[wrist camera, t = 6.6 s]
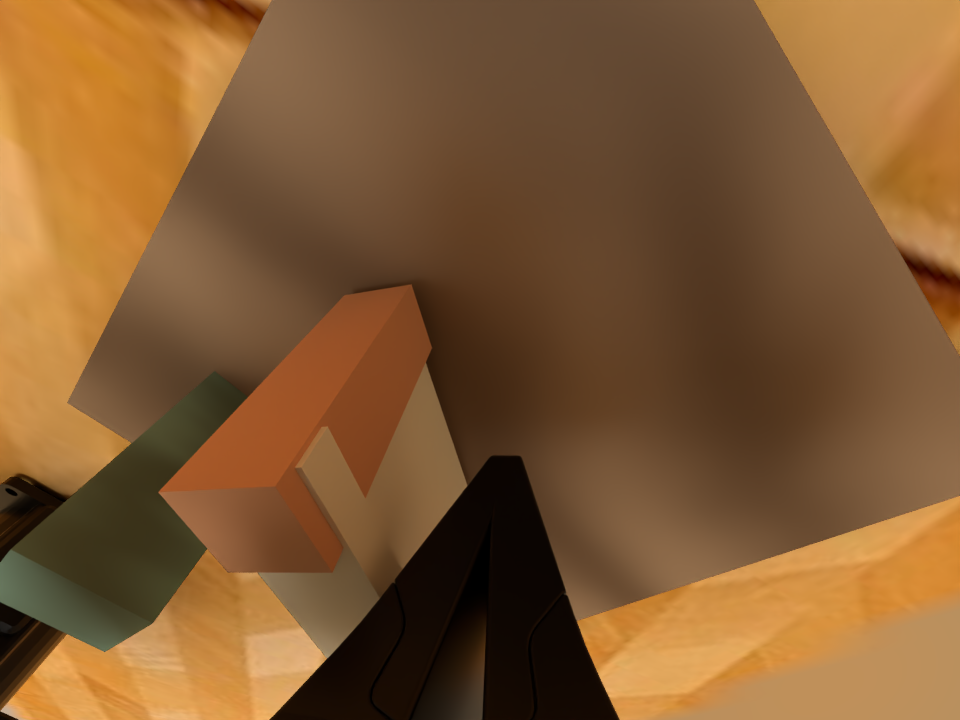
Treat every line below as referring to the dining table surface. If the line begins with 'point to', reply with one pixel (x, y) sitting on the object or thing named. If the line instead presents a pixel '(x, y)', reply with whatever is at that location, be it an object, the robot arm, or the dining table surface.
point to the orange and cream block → (329, 466)
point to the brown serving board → (528, 292)
